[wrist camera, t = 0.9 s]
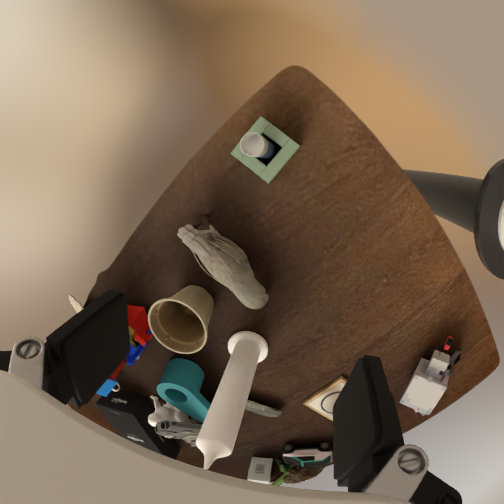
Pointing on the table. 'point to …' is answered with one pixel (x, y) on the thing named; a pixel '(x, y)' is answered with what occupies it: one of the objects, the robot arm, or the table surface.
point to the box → (135, 422)
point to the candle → (231, 396)
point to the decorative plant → (284, 469)
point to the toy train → (131, 343)
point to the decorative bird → (224, 263)
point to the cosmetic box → (260, 470)
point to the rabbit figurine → (166, 414)
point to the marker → (257, 146)
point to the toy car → (308, 455)
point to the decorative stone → (75, 304)
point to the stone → (262, 409)
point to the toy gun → (179, 430)
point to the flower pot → (182, 319)
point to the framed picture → (326, 398)
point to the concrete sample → (302, 474)
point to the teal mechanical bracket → (184, 388)
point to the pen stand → (279, 161)
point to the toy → (430, 380)
